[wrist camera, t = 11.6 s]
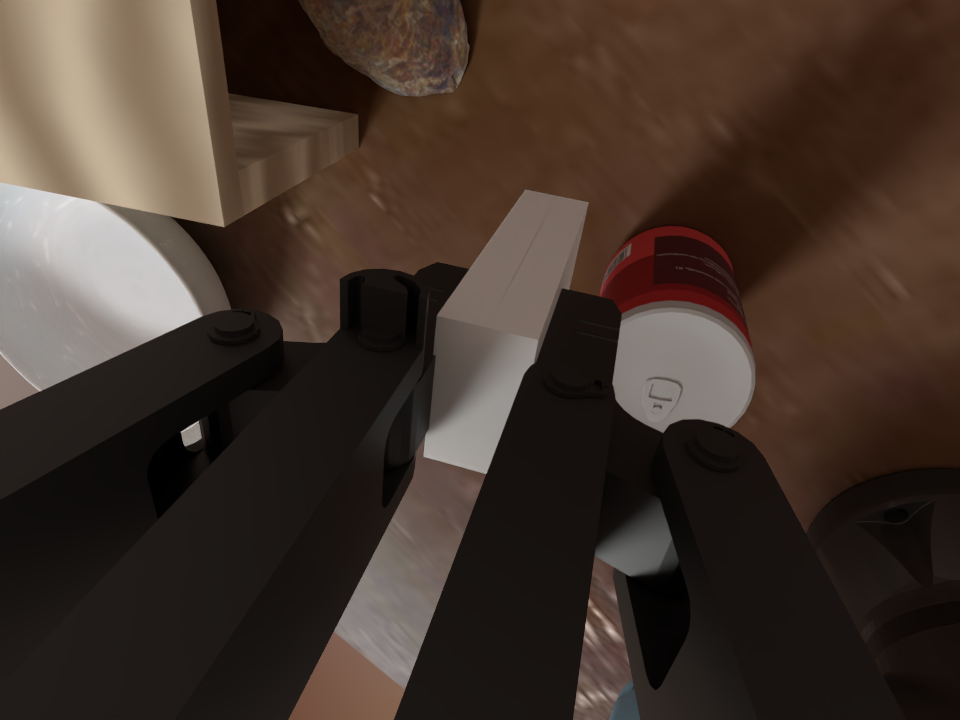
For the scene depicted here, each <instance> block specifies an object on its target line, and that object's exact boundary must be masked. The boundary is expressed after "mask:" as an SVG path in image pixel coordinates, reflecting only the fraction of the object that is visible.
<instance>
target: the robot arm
mask: <svg viewBox="0 0 960 720" xmlns="http://www.w3.org/2000/svg"><path fill="white" fill-rule="evenodd" d="M588 204H589V202H584V201H579V200H574V199H569V198H564V197H559V196H555V195H550V194H545V193H540V192H535V191H530V190H525V191H524V192H523V194H522V195H521V196H520V198H519V199H518V201H517V202H516V204H515V205H514V206H513V208H512V209H511V211H510V212H509V214H508V215H507V216H506V218H505V219H504V221H503V222H502V223H501V225H500V226H499V228H498V229H497V231H496V232H495V233H494V235H493V236H492V238H491V239H490V241H489V242H488V243H487V245H486V246H485V248H484V249H483V251H482V252H481V253H480V255H479V256H478V258H477V259H476V261H475V262H474V263H473V265H472V266H471V268H470V269H466V268H461V267H457V266H453V265H448V264H444V263H439V262H437V263H434V264H432V265H430V266H427V267H425V268H422V269H420V270H419V271H418V272H417V273H416V274H415V275H414V276H413V275H410V274H407V273H404V272H401V271H396V270H388V269H365V270H361V271H357V272H352V273H350V274H348V275H346V276H344V277H343V278H341V279H340V329H339V330H338V331H337V332H336V333H335V334H334V336H333V337H332V338H331V339H330V340H329V341H328V342H327V343H307V342H288V341H283V329H282V327H281V325H280V323H279V321H278V320H277V319H275V318H274V317H272V316H271V315H269V314H266V313H263V312H259V311H256V310H251V309H243V308H234V309H230V310H223V311H217V312H214V313H211V314H208V315H205V316H202V317H200V318H197V319H195V320H193V321H191V322H189V323H187V324H184V325H182V326H180V327H178V328H176V329H174V330H171V331H169V332H167V333H165V334H163V335H161V336H159V337H156V338H154V339H152V340H150V341H148V342H146V343H143V344H141V345H139V346H137V347H135V348H133V349H130V350H128V351H126V352H124V353H122V354H120V355H118V356H115V357H113V358H111V359H109V360H107V361H105V362H102V363H100V364H98V365H96V366H94V367H92V368H89V369H87V370H85V371H83V372H81V373H79V374H76V375H74V376H72V377H70V378H68V379H66V380H64V381H61V382H59V383H57V384H55V385H53V386H51V387H48V388H46V389H44V390H42V391H40V392H38V393H36V394H33V395H31V396H29V397H27V398H25V399H23V400H21V401H18V402H16V403H14V404H12V405H10V406H7V407H5V408H3V409H1V410H0V720H288V719H289V717H290V715H291V713H292V711H293V709H294V707H295V705H296V703H297V702H298V700H299V698H300V696H301V694H302V692H303V690H304V688H305V686H306V684H307V682H308V680H309V678H310V676H311V674H312V672H313V670H314V668H315V666H316V665H317V663H318V661H319V659H320V657H321V655H322V653H323V651H324V649H325V647H326V645H327V643H328V641H329V639H330V637H331V635H332V634H333V632H334V630H335V628H336V626H337V624H338V622H339V620H340V618H341V616H342V614H343V612H344V610H345V608H346V606H347V604H348V602H349V601H350V599H351V597H352V595H353V593H354V591H355V589H356V587H357V585H358V583H359V581H360V579H361V577H362V575H363V573H364V571H365V569H366V567H367V566H368V564H369V562H370V560H371V558H372V556H373V554H374V552H375V550H376V548H377V546H378V544H379V542H380V540H381V538H382V536H383V534H384V533H385V531H386V529H387V527H388V525H389V523H390V521H391V519H392V517H393V515H394V513H395V511H396V509H397V507H398V505H399V503H400V501H401V499H402V498H403V496H404V494H405V492H406V490H407V488H408V486H409V484H410V482H411V480H412V478H413V474H414V469H415V460H416V451H417V449H418V447H419V446H420V444H421V442H422V440H423V438H424V436H425V434H426V437H425V447H424V457H427V458H431V459H434V460H438V461H442V462H445V463H449V464H452V465H456V466H460V467H463V468H467V469H470V470H474V471H478V472H481V473H485V474H486V476H485V479H484V482H483V484H482V487H481V490H480V492H479V495H478V498H477V500H476V503H475V506H474V508H473V511H472V514H471V516H470V519H469V522H468V524H467V527H466V530H465V532H464V535H463V538H462V540H461V543H460V546H459V548H458V551H457V553H456V556H455V559H454V561H453V564H452V567H451V569H450V572H449V575H448V577H447V580H446V583H445V585H444V588H443V591H442V593H441V596H440V599H439V601H438V604H437V607H436V609H435V612H434V615H433V617H432V620H431V623H430V625H429V628H428V631H427V633H426V636H425V639H424V641H423V644H422V646H421V649H420V652H419V654H418V657H417V660H416V662H415V665H414V668H413V670H412V673H411V676H410V678H409V681H408V684H407V686H406V689H405V692H404V695H403V697H402V700H401V702H400V705H399V708H398V710H397V713H396V716H395V718H394V720H573V714H574V706H575V699H576V691H577V684H578V676H579V669H580V661H581V653H582V646H583V638H584V631H585V623H586V616H587V608H588V600H589V593H590V585H591V578H592V570H593V563H594V555H595V556H596V557H598V558H600V559H601V560H603V561H605V562H606V563H608V564H610V565H611V566H613V567H614V571H613V579H614V585H615V590H616V595H617V601H618V606H619V611H620V616H621V622H622V627H623V632H624V637H625V643H626V648H627V653H628V658H629V664H630V669H631V674H632V679H631V680H629V681H628V683H627V684H626V685H625V686H624V688H623V689H622V690H621V692H620V694H619V697H618V699H617V701H616V702H615V705H614V707H613V710H612V713H611V716H610V720H960V470H957V469H924V470H914V471H907V472H901V473H896V474H891V475H887V476H883V477H880V478H877V479H874V480H871V481H868V482H865V483H863V484H861V485H858V486H856V487H854V488H852V489H850V490H848V491H847V492H845V493H843V494H841V495H840V496H838V497H837V498H835V499H834V500H833V501H831V502H830V503H829V504H828V505H827V506H826V507H824V508H823V509H822V510H821V512H820V513H819V514H818V515H817V516H816V517H815V519H814V520H813V522H812V523H811V525H810V527H809V529H808V531H807V534H806V533H805V531H804V530H803V528H802V526H801V524H800V522H799V520H798V519H797V517H796V515H795V513H794V511H793V509H792V507H791V506H790V504H789V502H788V500H787V498H786V496H785V495H784V493H783V491H782V489H781V487H780V485H779V483H778V482H777V480H776V478H775V476H774V474H773V472H772V471H771V469H770V467H769V465H768V463H767V461H766V459H765V458H764V456H763V455H762V454H761V453H760V451H759V450H758V449H757V448H756V446H755V445H754V444H753V443H752V442H750V441H749V440H748V439H746V438H745V437H744V436H742V435H741V434H739V433H738V432H736V431H734V430H732V429H730V428H728V427H725V426H724V425H721V424H719V423H714V422H710V421H705V420H701V419H682V420H680V421H677V422H675V423H672V424H669V426H668V427H667V429H666V430H665V431H664V433H662V432H660V431H658V430H656V429H654V428H652V427H650V426H648V425H646V424H644V423H642V422H640V421H639V420H637V419H635V418H634V417H632V416H631V415H630V414H629V413H627V412H626V411H625V410H624V409H623V408H622V407H621V406H620V404H619V403H618V402H617V401H616V399H615V391H614V386H613V385H612V383H613V376H614V369H615V361H616V354H617V347H618V340H619V333H620V325H621V318H622V313H621V312H620V310H619V309H618V307H617V305H616V304H615V302H614V301H613V300H612V299H608V298H603V297H599V296H595V295H590V294H586V293H581V292H577V291H572V290H569V288H570V284H571V279H572V275H573V270H574V266H575V261H576V257H577V252H578V248H579V244H580V239H581V235H582V230H583V226H584V221H585V217H586V212H587V208H588ZM198 421H199V424H200V430H201V436H202V439H200V440H199V441H197V442H196V443H193V444H191V445H188V446H186V447H185V446H184V444H183V441H182V436H181V431H183V430H185V429H186V428H188V427H189V426H191V425H193V424H194V423H196V422H198Z"/></svg>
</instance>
